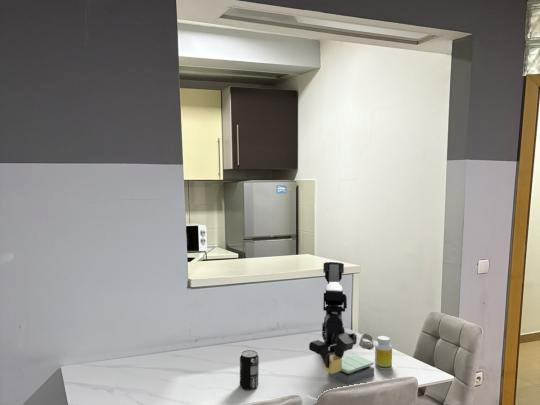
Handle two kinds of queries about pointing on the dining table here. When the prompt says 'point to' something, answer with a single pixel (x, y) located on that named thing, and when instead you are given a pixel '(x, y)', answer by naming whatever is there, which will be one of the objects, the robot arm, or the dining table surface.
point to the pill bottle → (383, 353)
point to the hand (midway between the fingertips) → (332, 366)
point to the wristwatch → (364, 344)
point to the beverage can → (249, 370)
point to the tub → (354, 375)
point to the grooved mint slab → (347, 363)
